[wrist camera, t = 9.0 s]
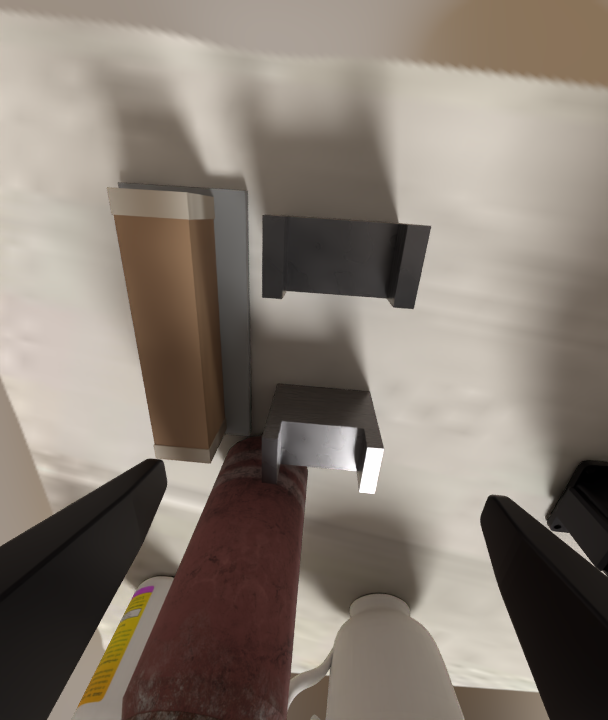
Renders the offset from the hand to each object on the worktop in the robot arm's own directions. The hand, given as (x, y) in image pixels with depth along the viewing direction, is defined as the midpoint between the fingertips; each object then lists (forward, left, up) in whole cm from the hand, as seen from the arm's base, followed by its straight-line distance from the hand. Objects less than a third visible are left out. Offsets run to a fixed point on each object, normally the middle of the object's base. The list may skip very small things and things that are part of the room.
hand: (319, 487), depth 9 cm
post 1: (0, -5, -11) cm, 13 cm away
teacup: (-6, +27, -12) cm, 30 cm away
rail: (+8, 0, -11) cm, 13 cm away
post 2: (0, +5, -11) cm, 12 cm away
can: (+3, +10, -12) cm, 16 cm away
